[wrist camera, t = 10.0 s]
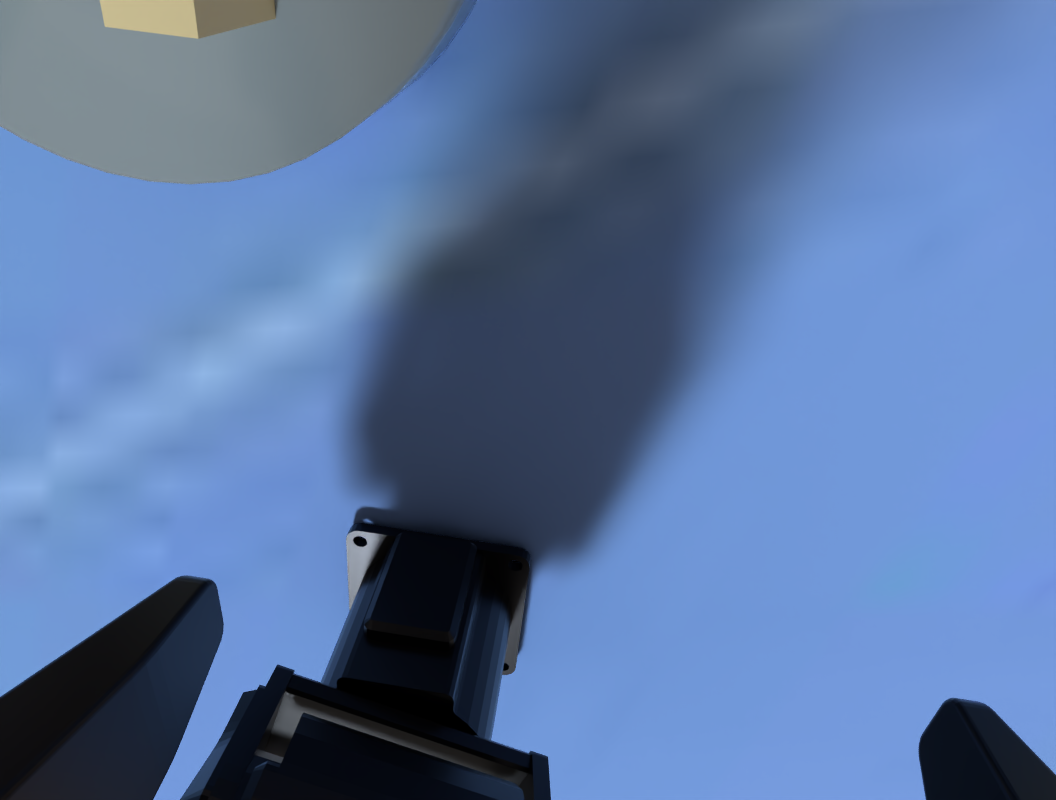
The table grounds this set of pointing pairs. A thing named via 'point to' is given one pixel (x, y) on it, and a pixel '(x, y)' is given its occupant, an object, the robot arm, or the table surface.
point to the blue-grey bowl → (208, 78)
